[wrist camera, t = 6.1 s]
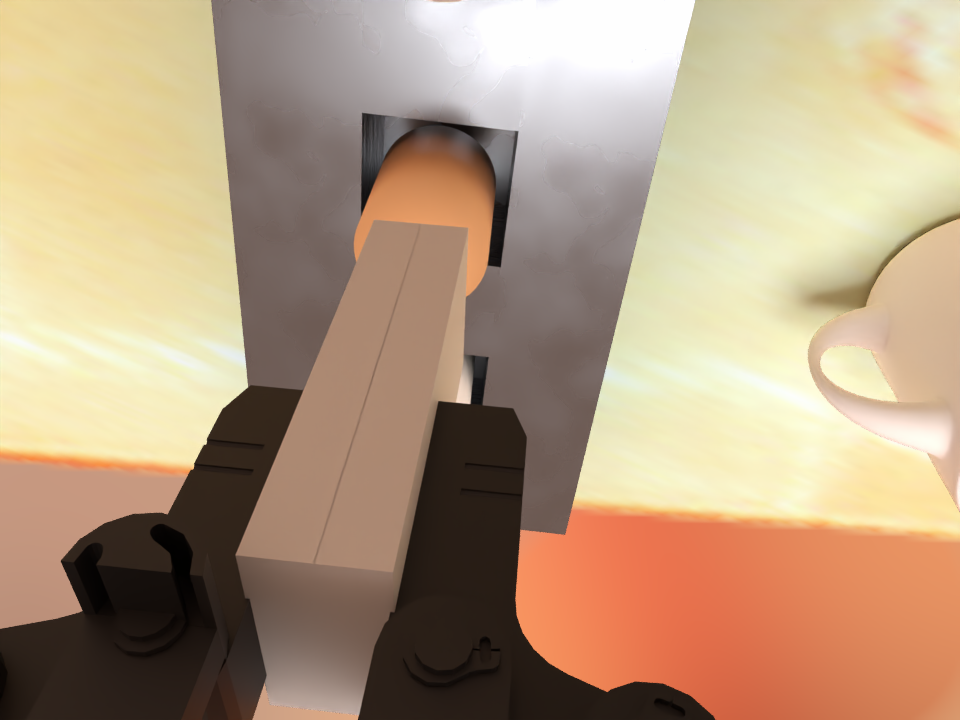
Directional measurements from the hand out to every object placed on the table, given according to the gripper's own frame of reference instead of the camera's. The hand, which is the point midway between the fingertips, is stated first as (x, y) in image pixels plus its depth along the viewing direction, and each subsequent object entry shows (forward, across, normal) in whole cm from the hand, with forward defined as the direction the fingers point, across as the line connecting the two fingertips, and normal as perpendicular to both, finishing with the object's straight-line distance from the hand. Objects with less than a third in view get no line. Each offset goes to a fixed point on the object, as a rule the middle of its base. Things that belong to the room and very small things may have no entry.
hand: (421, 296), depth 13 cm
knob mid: (+14, -2, -5) cm, 15 cm away
